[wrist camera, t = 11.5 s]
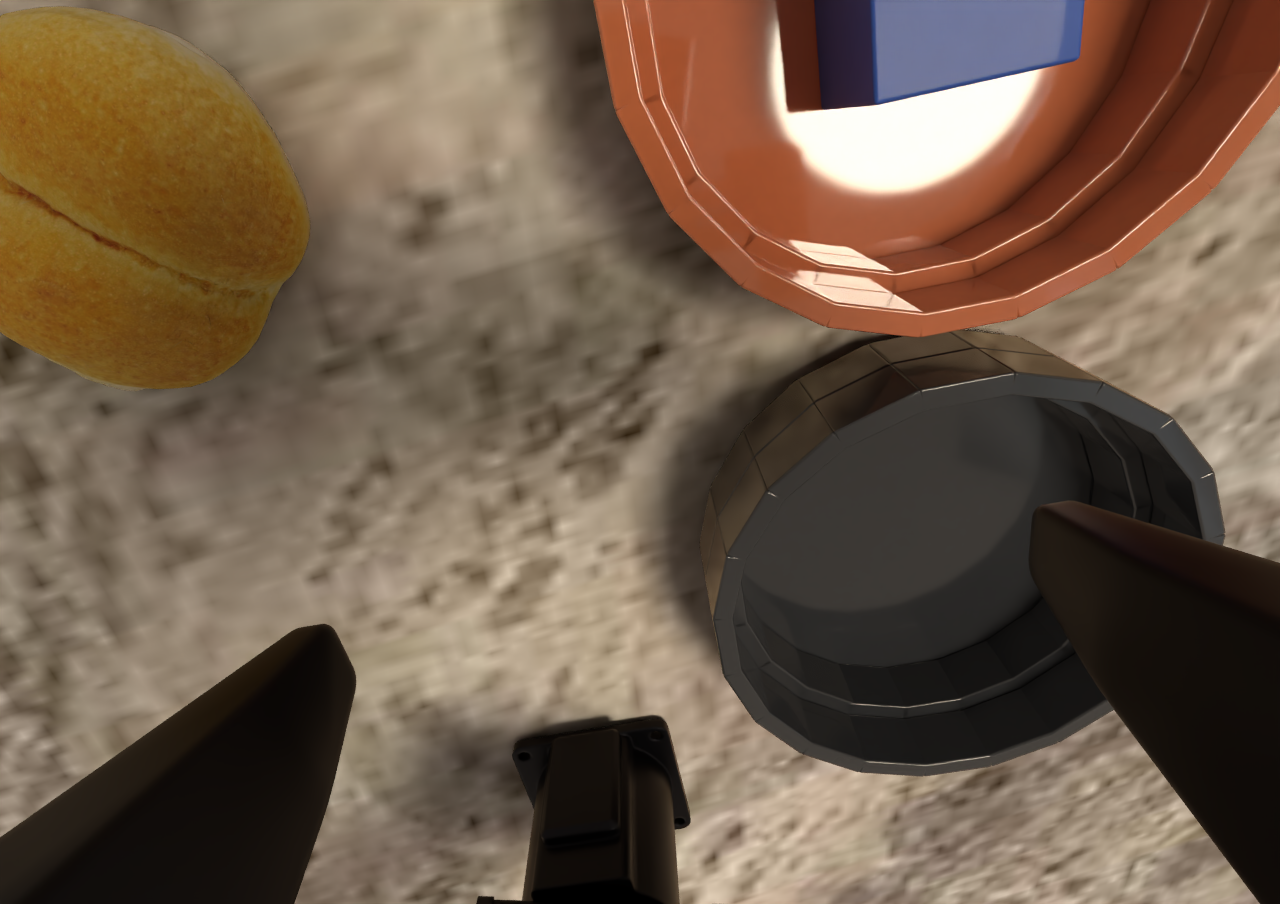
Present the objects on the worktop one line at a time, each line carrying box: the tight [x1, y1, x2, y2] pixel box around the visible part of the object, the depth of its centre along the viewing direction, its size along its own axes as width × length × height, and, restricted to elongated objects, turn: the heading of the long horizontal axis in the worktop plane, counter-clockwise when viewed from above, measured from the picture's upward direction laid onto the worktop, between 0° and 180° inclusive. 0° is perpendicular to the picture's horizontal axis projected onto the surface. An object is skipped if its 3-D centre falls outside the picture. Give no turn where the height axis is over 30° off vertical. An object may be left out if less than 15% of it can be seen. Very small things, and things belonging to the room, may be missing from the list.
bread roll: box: [0, 6, 310, 391], centre depth 16 cm, size 8×9×4 cm
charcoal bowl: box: [700, 330, 1225, 776], centre depth 21 cm, size 14×14×4 cm
